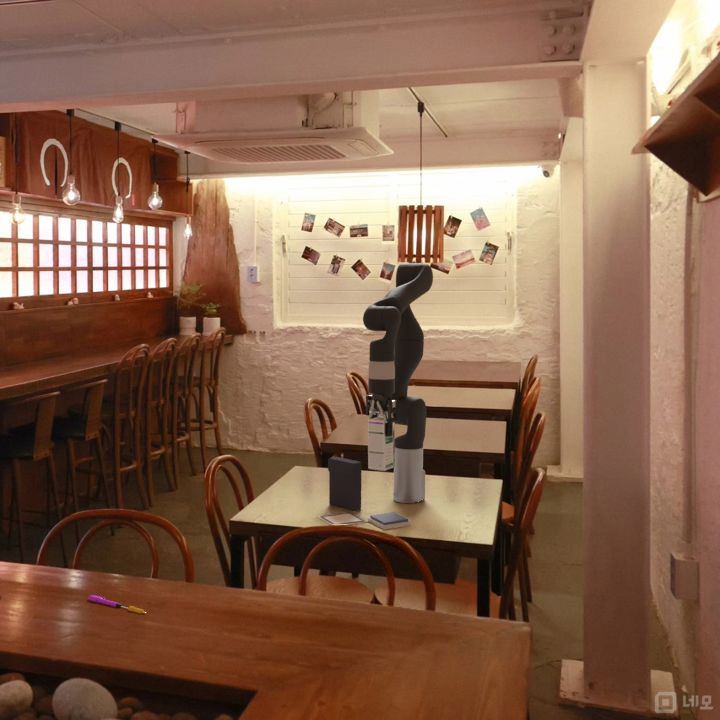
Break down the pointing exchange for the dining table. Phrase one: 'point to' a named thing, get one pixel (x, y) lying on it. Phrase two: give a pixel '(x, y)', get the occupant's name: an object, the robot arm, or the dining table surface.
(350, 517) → the marked card
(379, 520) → the ink pad
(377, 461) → the syrup box
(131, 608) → the purple and yellow stick
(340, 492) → the dark grey upright block
